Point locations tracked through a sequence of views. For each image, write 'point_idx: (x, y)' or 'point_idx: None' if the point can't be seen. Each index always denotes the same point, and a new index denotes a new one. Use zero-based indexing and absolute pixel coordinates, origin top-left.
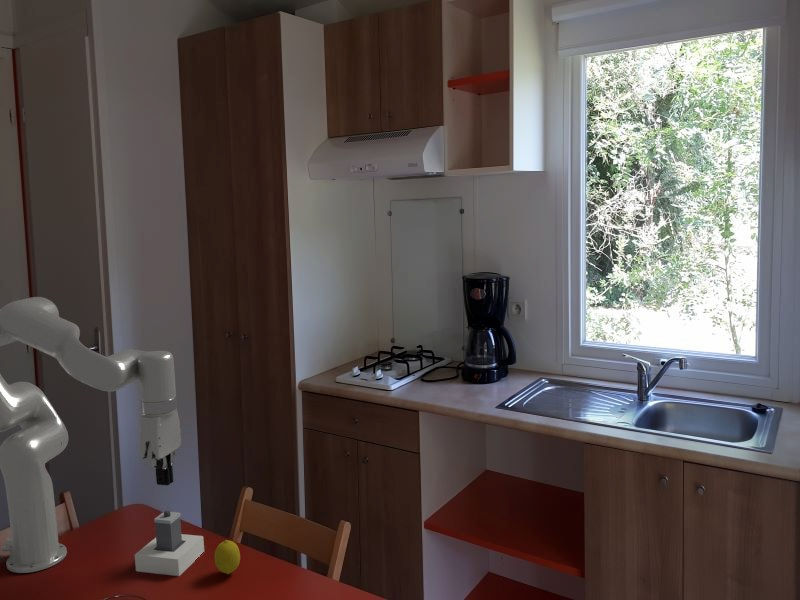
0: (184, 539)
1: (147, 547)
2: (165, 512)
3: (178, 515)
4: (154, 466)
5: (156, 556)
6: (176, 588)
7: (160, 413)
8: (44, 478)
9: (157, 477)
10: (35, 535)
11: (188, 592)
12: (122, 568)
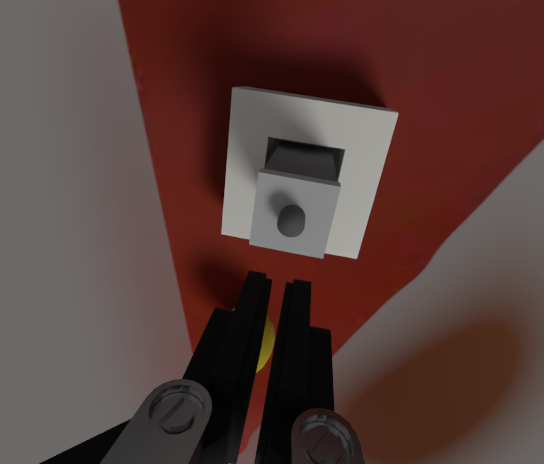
0: (337, 212)
1: (282, 110)
2: (283, 220)
3: (308, 253)
4: (96, 441)
5: (228, 168)
6: (184, 227)
7: None
8: None
9: (206, 328)
10: None
11: (175, 256)
12: (257, 28)
